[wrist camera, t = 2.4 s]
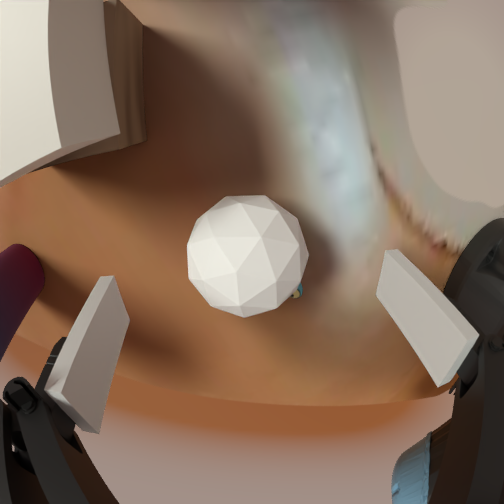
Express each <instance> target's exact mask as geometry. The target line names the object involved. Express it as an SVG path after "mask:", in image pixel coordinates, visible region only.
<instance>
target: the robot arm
mask: <svg viewBox="0 0 504 504" xmlns="http://www.w3.org/2000/svg"><path fill="white" fill-rule="evenodd" d="M376 296H377V298H378V299H379V300H380V302H381V303H382V304H383V306H384V307H385V309H386V310H387V311H388V313H389V314H390V316H391V317H392V318H393V320H394V321H395V323H396V324H397V326H398V327H399V328H400V330H401V331H402V333H403V334H404V336H405V337H406V339H407V340H408V342H409V343H410V345H411V346H412V348H413V349H414V351H415V352H416V354H417V355H418V357H419V358H420V360H421V361H422V363H423V365H424V366H425V368H426V369H427V371H428V372H429V374H430V376H431V377H432V379H433V381H434V382H435V384H436V385H437V387H440V386H442V385H444V384H446V383H448V382H450V381H451V379H452V378H453V377H454V375H455V374H456V372H457V374H458V375H459V378H458V379H457V381H456V382H455V384H454V385H453V386H452V388H451V389H450V391H449V394H451V393H452V391H453V390H454V389H455V388H456V391H455V393H454V395H455V399H454V406H453V413H452V418H451V419H449V420H448V421H447V422H445V423H444V424H443V425H441V426H440V427H439V428H437V429H436V430H434V431H433V432H432V431H431V432H429V433H428V434H427V436H426V437H424V438H423V439H422V440H420V441H419V442H418V443H416V444H415V445H413V446H412V447H410V448H409V449H407V450H406V451H405V452H403V453H402V454H401V456H400V457H399V458H398V460H397V462H396V464H395V467H394V470H393V475H392V503H393V504H504V218H499V219H496V220H494V221H492V222H490V223H489V224H487V225H486V226H485V227H484V228H482V229H481V230H480V231H479V232H478V233H477V235H476V236H475V237H474V238H473V239H472V240H471V242H470V243H469V244H468V246H467V247H466V249H465V250H464V252H463V253H462V255H461V256H460V258H459V260H458V261H457V263H456V265H455V267H454V269H453V271H452V273H451V275H450V277H449V279H448V282H447V284H446V287H445V290H444V293H443V294H442V292H441V291H440V290H439V289H438V288H437V287H436V286H435V285H434V284H433V283H432V282H431V281H430V280H429V279H428V278H427V277H426V276H425V275H424V274H423V273H422V272H421V271H420V270H419V269H418V268H417V267H416V266H415V265H414V264H413V263H411V262H410V261H409V260H408V259H407V258H406V257H405V256H404V255H403V254H402V253H401V252H400V251H399V250H398V249H395V250H386V251H385V255H384V260H383V265H382V270H381V274H380V279H379V283H378V287H377V291H376ZM129 322H130V319H129V316H128V313H127V311H126V308H125V306H124V303H123V300H122V297H121V295H120V292H119V289H118V286H117V283H116V280H115V277H114V276H103V277H100V278H99V280H98V282H97V283H96V285H95V287H94V288H93V290H92V292H91V294H90V295H89V297H88V299H87V301H86V302H85V304H84V306H83V308H82V310H81V312H80V313H79V315H78V317H77V319H76V321H75V323H74V325H73V327H72V329H71V331H70V333H69V335H68V337H62V338H61V339H60V340H59V341H58V342H57V343H56V344H55V345H54V347H53V349H52V351H51V354H50V357H49V358H48V360H47V362H46V363H47V364H46V365H45V366H44V368H43V371H42V373H41V375H40V378H39V380H38V382H37V385H36V387H35V389H34V388H33V387H32V386H31V385H30V383H29V382H28V381H27V380H26V379H25V378H23V377H17V378H14V379H12V380H11V381H9V382H8V383H7V385H6V386H5V388H4V391H3V399H4V400H5V401H6V402H7V403H8V405H6V404H5V403H4V402H3V401H2V400H1V399H0V504H119V502H118V501H117V500H116V498H115V497H114V496H113V494H112V493H111V491H110V490H109V489H108V487H107V485H106V484H105V482H104V481H103V479H102V477H101V476H100V474H99V473H98V471H97V469H96V468H95V466H94V464H93V463H92V461H91V459H90V458H89V456H88V454H87V452H86V450H85V448H84V447H83V444H82V443H81V441H80V439H79V437H78V435H77V433H76V432H75V431H74V428H75V424H76V425H77V426H78V427H79V428H81V429H82V430H83V431H86V432H92V433H97V434H99V432H100V428H101V423H102V418H103V414H104V410H105V406H106V402H107V397H108V393H109V390H110V385H111V381H112V378H113V375H114V371H115V368H116V364H117V361H118V357H119V354H120V351H121V347H122V344H123V341H124V338H125V335H126V331H127V328H128V325H129ZM12 445H13V446H14V447H15V451H14V452H13V451H12Z"/></svg>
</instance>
